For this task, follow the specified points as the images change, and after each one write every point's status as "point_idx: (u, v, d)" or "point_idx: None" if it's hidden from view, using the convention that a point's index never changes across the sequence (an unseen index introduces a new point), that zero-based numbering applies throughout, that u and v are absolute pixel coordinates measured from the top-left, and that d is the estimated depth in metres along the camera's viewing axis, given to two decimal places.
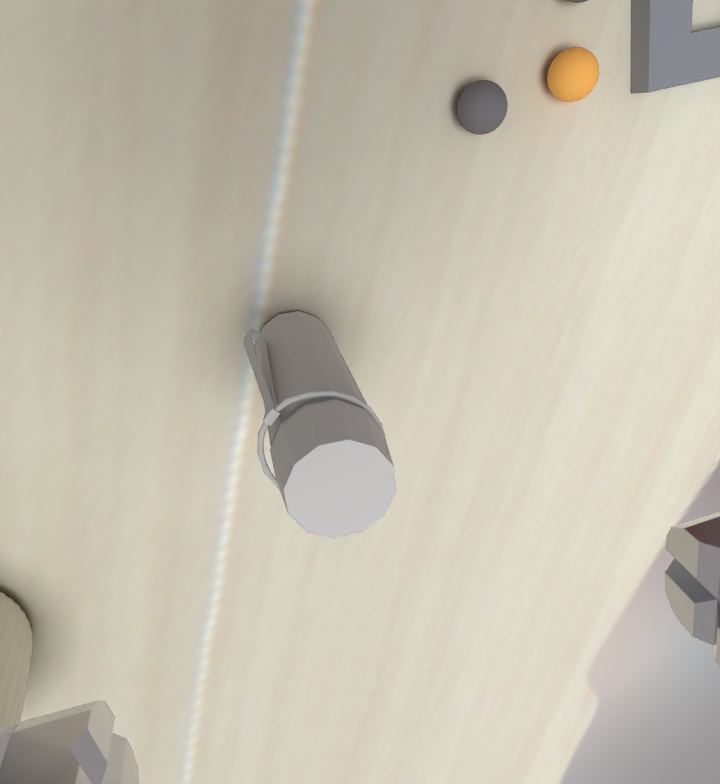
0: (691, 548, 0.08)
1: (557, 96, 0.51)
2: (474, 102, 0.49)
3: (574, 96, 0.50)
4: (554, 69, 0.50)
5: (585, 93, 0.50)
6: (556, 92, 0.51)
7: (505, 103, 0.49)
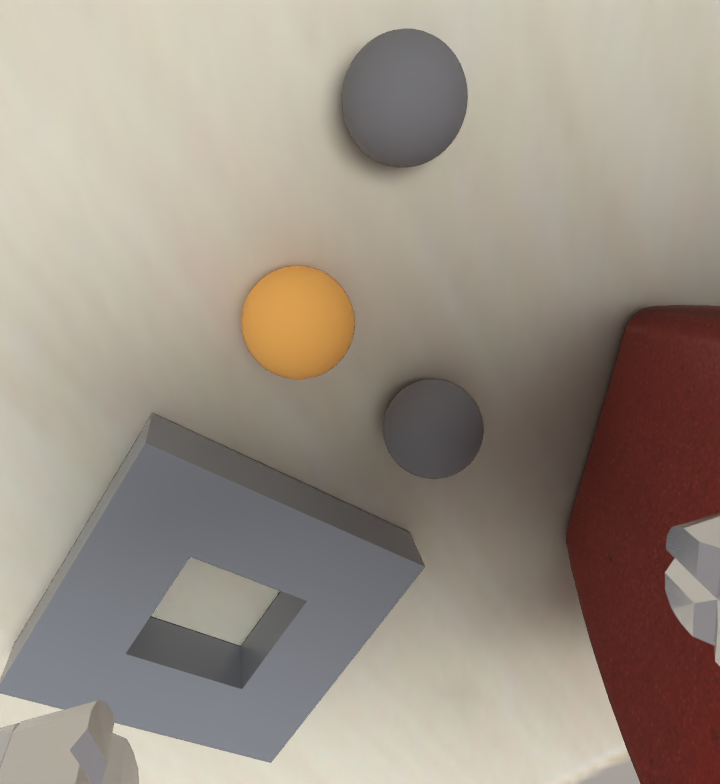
0: (692, 548, 0.08)
1: (287, 269, 0.21)
2: (455, 76, 0.18)
3: (271, 296, 0.20)
4: None
5: (259, 321, 0.20)
6: (299, 270, 0.21)
7: (390, 143, 0.19)
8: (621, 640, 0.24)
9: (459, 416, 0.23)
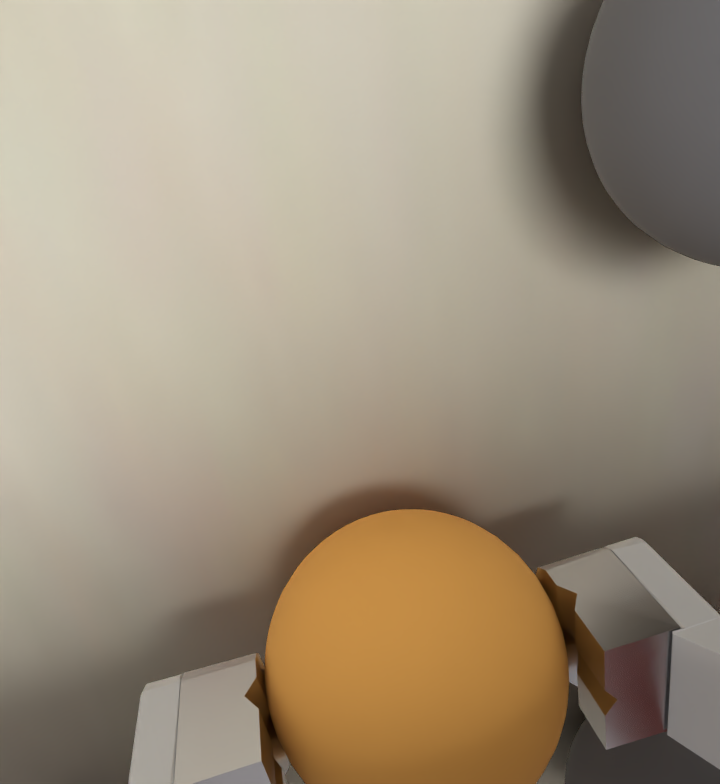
0: (552, 590, 0.08)
1: (394, 546, 0.08)
2: None
3: (362, 663, 0.07)
4: (544, 599, 0.08)
5: (323, 735, 0.07)
6: (434, 557, 0.07)
7: None
8: None
9: None
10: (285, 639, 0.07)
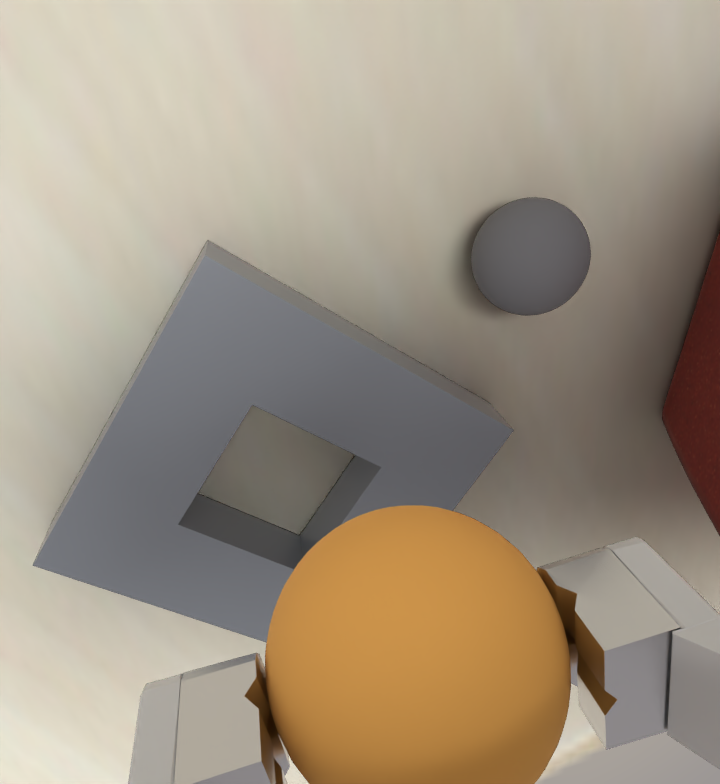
0: (553, 590, 0.08)
1: (395, 541, 0.08)
2: None
3: (363, 660, 0.07)
4: None
5: (324, 732, 0.07)
6: (435, 553, 0.07)
7: None
8: None
9: (568, 228, 0.20)
10: (286, 635, 0.07)
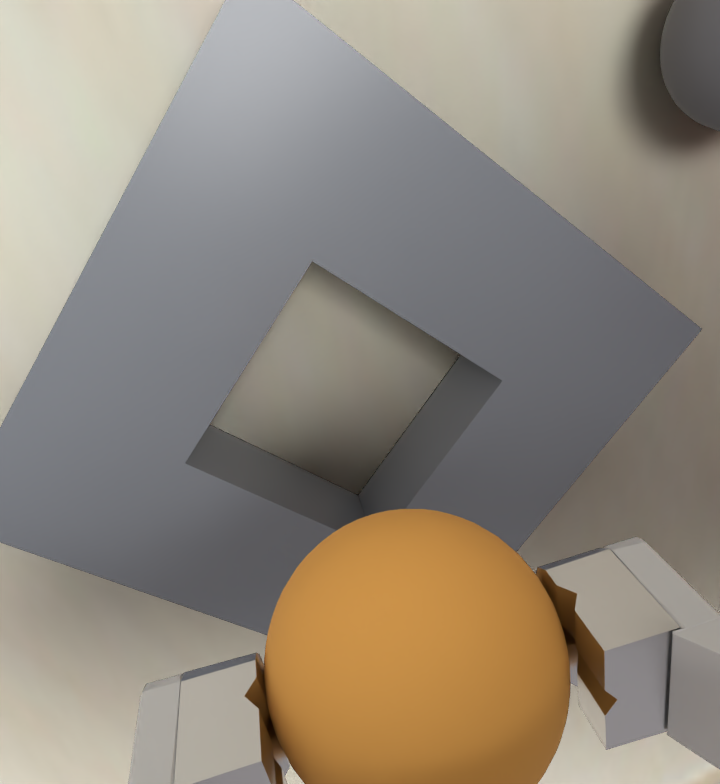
0: (552, 590, 0.08)
1: (394, 545, 0.08)
2: None
3: (362, 664, 0.07)
4: (545, 600, 0.08)
5: (324, 736, 0.07)
6: (434, 557, 0.07)
7: None
8: None
9: None
10: (285, 639, 0.07)
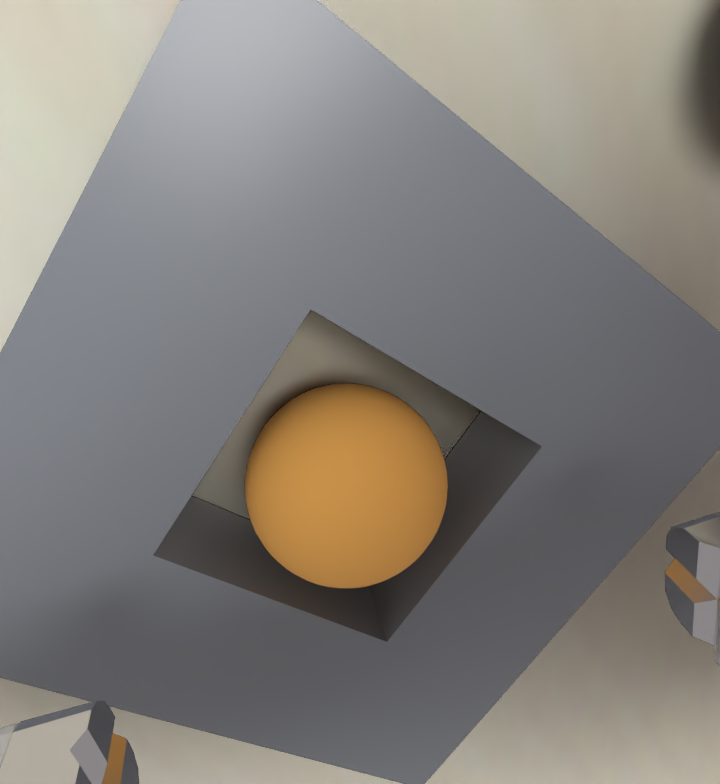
0: (691, 548, 0.08)
1: (328, 396, 0.12)
2: None
3: (299, 458, 0.11)
4: (431, 439, 0.12)
5: (275, 503, 0.11)
6: (352, 402, 0.11)
7: None
8: None
9: None
10: (256, 453, 0.12)
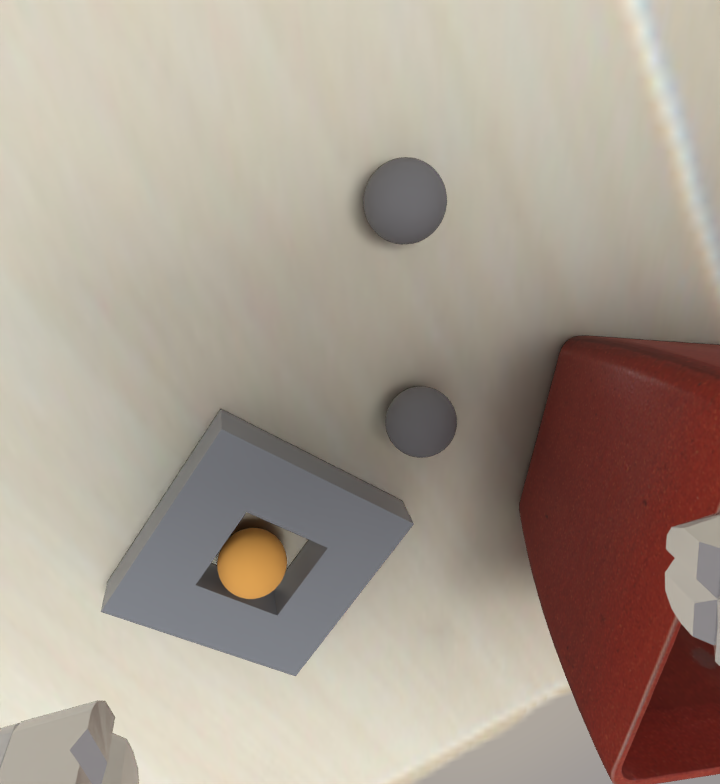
0: (691, 547, 0.08)
1: (244, 536, 0.35)
2: (438, 191, 0.29)
3: (229, 557, 0.35)
4: (276, 555, 0.35)
5: (221, 569, 0.35)
6: (250, 540, 0.35)
7: (396, 232, 0.29)
8: (552, 571, 0.34)
9: (440, 413, 0.33)
10: (221, 550, 0.36)
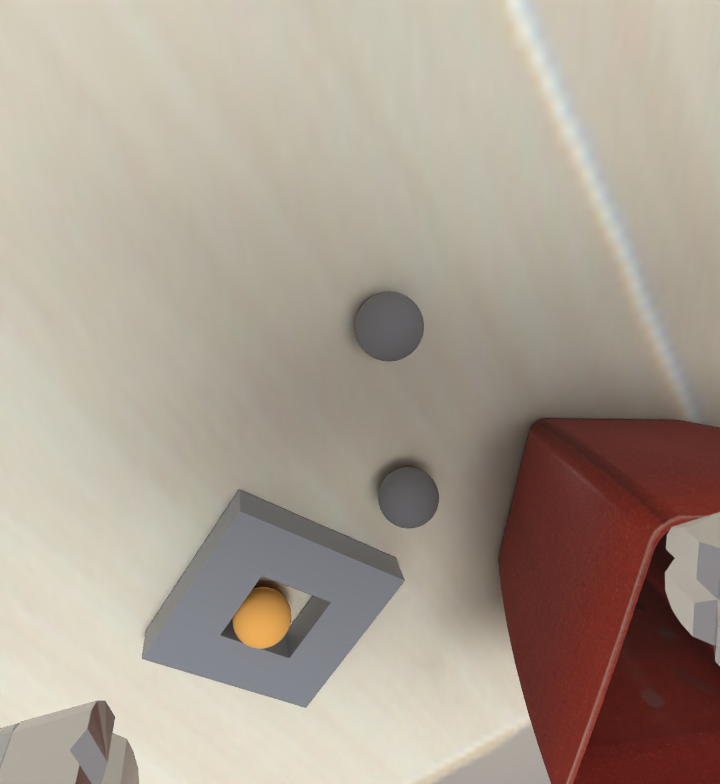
0: (691, 547, 0.08)
1: (254, 596, 0.42)
2: (415, 322, 0.35)
3: (239, 613, 0.41)
4: (279, 616, 0.41)
5: (233, 621, 0.42)
6: (258, 601, 0.41)
7: (381, 355, 0.35)
8: (520, 625, 0.40)
9: (423, 493, 0.39)
10: None
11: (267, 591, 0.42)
